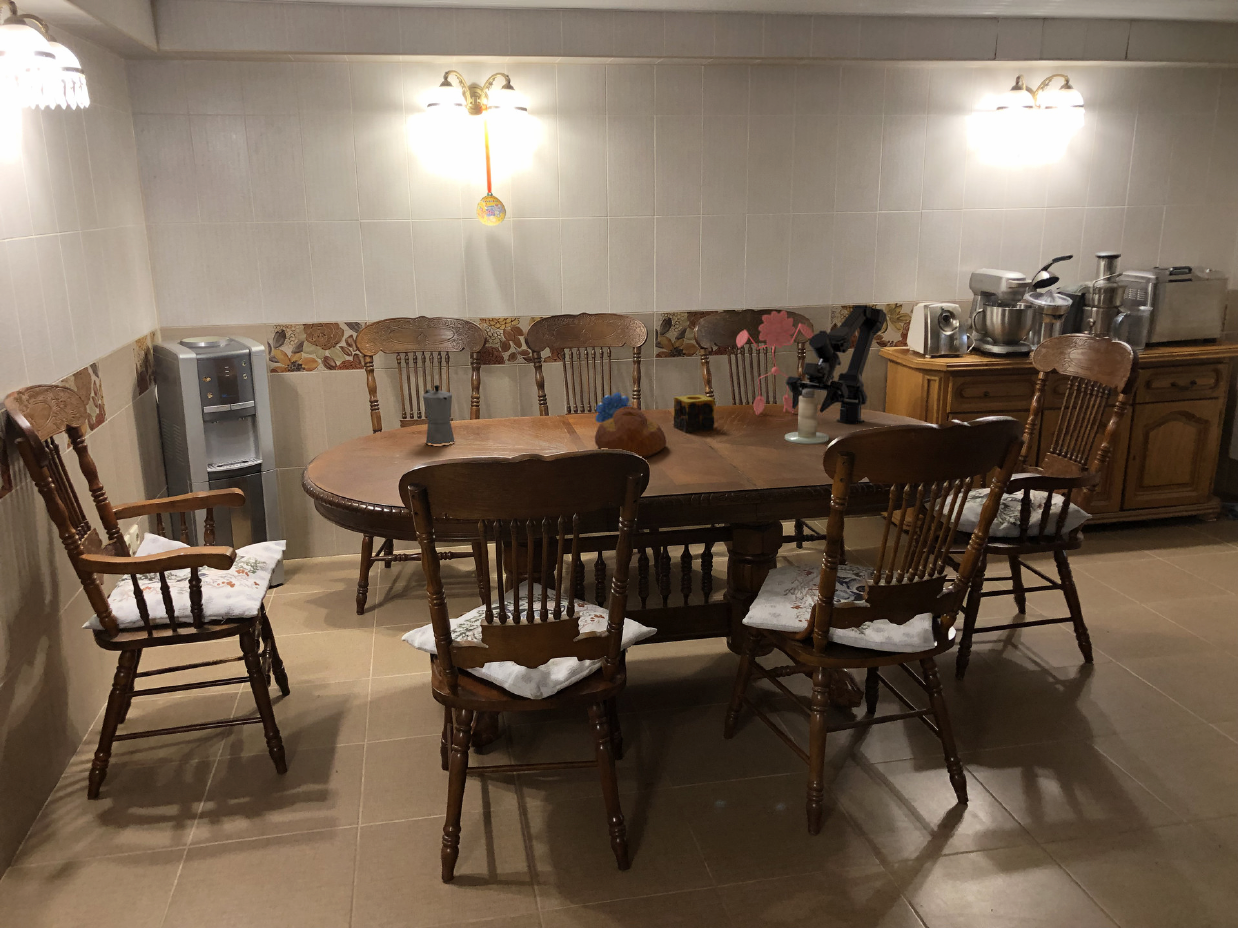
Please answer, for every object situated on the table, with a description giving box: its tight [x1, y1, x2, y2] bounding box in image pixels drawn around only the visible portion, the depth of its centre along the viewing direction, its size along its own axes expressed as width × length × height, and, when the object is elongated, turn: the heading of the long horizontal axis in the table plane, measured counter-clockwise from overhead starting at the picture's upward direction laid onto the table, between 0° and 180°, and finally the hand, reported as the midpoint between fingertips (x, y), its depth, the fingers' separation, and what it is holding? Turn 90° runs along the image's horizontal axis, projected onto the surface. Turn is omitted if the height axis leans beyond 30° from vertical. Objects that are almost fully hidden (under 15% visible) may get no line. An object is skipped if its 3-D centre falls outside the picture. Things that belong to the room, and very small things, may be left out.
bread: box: [594, 405, 667, 459], centre depth 288 cm, size 21×33×12 cm, turn 0°
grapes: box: [595, 392, 631, 424], centre depth 313 cm, size 12×7×12 cm, turn 97°
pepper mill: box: [797, 389, 819, 438], centre depth 295 cm, size 6×6×14 cm
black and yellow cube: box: [673, 394, 715, 434], centre depth 312 cm, size 10×10×10 cm
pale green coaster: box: [784, 431, 830, 445], centre depth 296 cm, size 13×13×1 cm
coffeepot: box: [422, 384, 456, 444], centre depth 299 cm, size 15×9×18 cm, turn 33°
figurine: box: [735, 310, 815, 421], centre depth 325 cm, size 15×26×35 cm, turn 95°
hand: (806, 410), depth 294 cm, fingers open, 9 cm apart
